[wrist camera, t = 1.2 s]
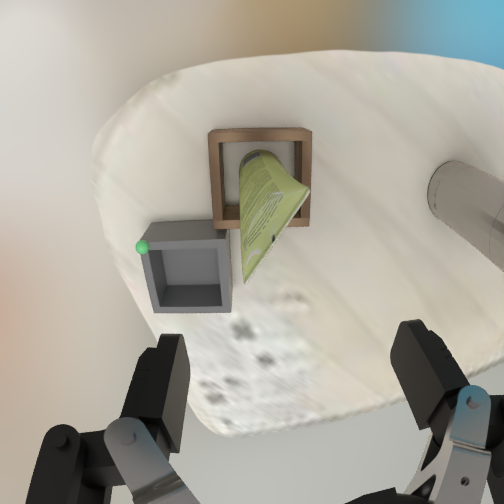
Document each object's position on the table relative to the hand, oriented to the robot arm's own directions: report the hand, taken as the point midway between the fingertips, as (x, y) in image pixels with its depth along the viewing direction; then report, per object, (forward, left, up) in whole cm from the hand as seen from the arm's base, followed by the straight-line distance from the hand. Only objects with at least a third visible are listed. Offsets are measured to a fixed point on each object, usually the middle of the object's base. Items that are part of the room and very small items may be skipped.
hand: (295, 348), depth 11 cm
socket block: (+9, +11, -29) cm, 32 cm away
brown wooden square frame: (0, 0, -29) cm, 29 cm away
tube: (0, 0, -29) cm, 29 cm away
